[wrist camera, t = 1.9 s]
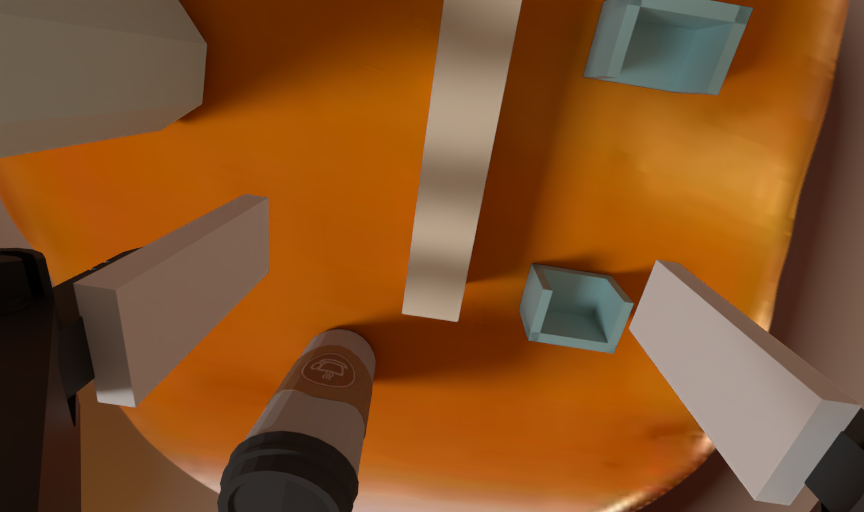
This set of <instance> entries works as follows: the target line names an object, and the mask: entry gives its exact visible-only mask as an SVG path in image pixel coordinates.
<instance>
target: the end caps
mask: <svg viewBox="0 0 864 512" xmlns="http://www.w3.org/2000/svg"><path fill="white" fill-rule="evenodd" d="M752 10H753V8H752V7H746V6H740V5H734V4H729V3H723V2H717V1H711V0H607V1H605V2H603V6H602V10H601V13H600V17H599V20H598V24H597V28H596V31H595V35H594V39H593V42H592V46H591V49H590V53H589V57H588V60H587V64H586V68H585V71H584V75H583V77H585V78H591V79H597V80H603V81H609V82H615V83H621V84H627V85H633V86H639V87H645V88H651V89H657V90H663V91H669V92H675V93H686V94H706V95H718V94H719V91H720V89H721V87H722V84H723V82H724V79H725V77H726V74H727V72H728V69H729V67H730V64H731V62H732V59H733V57H734V54H735V52H736V49H737V47H738V44H739V42H740V39H741V37H742V35H743V32H744V30H745V27H746V25H747V22H748V20H749V17H750V15H751V12H752ZM633 305H634V303H633V302H632V301H631V299H630V298H629V297H628V296H627V294H626V293H625V292H624V291H623V290H622V288H621V287H620V286H619V285H618V284H617V282H616V281H615V280H614V279H613V278H612V276H609V275H603V274H596V273H590V272H584V271H577V270H571V269H565V268H558V267H552V266H545V265H539V264H533V263H532V264H531V267H530V271H529V274H528V278H527V282H526V285H525V289H524V293H523V296H522V300H521V303H520V307H519V312H520V315H521V319H522V322H523V325H524V329H525V332H526V335H527V339H528V340H529V341H535V342H542V343H548V344H555V345H562V346H568V347H575V348H581V349H588V350H594V351H601V352H607V353H614V352H615V349H616V347H617V344H618V342H619V339H620V337H621V334H622V332H623V329H624V327H625V324H626V322H627V319H628V317H629V314H630V312H631V310H632V307H633Z"/></svg>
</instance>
